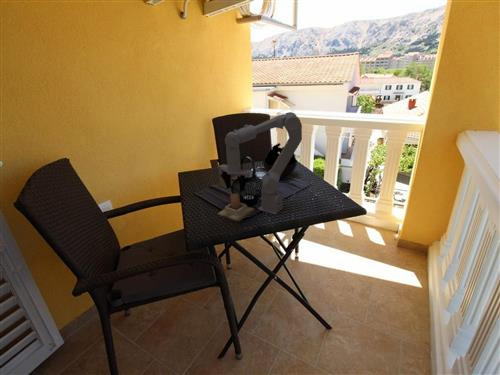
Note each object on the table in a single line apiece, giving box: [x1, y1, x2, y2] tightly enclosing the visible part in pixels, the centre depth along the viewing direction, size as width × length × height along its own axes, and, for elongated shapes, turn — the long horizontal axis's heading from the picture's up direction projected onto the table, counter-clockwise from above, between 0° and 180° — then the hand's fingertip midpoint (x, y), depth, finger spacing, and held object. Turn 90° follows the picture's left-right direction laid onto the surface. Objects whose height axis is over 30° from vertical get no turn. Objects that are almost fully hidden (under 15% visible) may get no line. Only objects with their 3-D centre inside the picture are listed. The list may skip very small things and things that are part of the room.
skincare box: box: [217, 163, 233, 189], centre depth 147 cm, size 6×4×12 cm
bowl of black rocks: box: [262, 142, 298, 178], centre depth 155 cm, size 20×20×19 cm
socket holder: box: [217, 202, 255, 222], centre depth 120 cm, size 12×12×3 cm
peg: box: [229, 193, 241, 210], centre depth 118 cm, size 4×4×8 cm
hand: (235, 189), depth 119 cm, fingers open, 7 cm apart
